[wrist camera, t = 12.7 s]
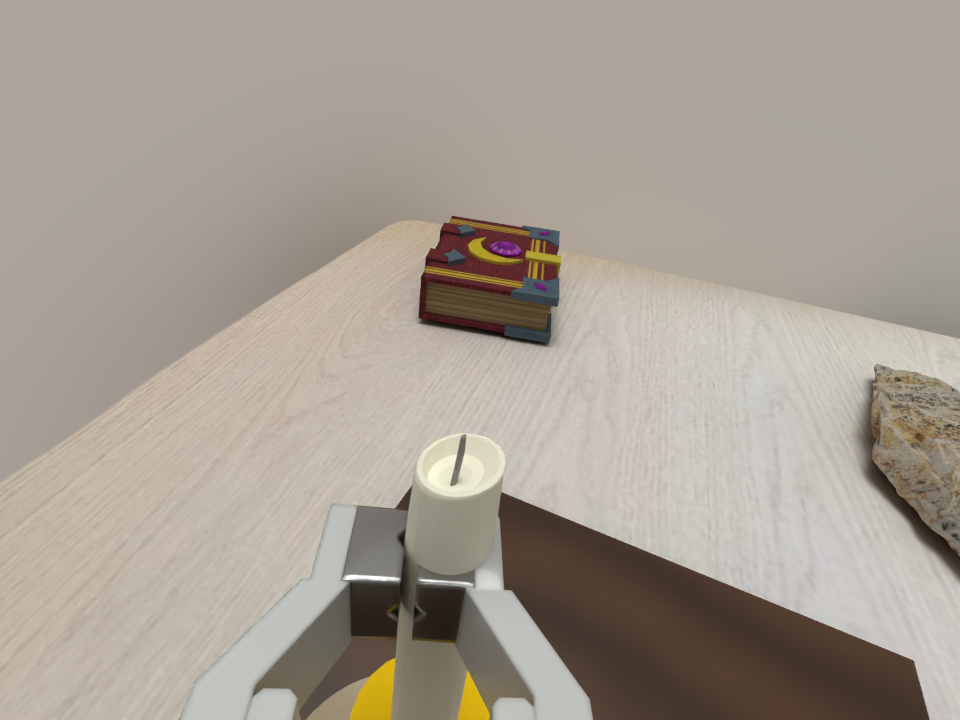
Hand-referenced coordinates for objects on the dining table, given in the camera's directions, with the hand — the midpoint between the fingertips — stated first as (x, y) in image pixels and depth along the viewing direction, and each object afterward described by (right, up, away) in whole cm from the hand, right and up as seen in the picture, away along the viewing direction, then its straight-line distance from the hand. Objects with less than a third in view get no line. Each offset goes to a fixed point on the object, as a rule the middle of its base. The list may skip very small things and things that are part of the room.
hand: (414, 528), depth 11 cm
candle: (-1, -11, +6) cm, 12 cm away
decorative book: (+2, +10, +40) cm, 42 cm away
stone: (+33, -4, +27) cm, 42 cm away
